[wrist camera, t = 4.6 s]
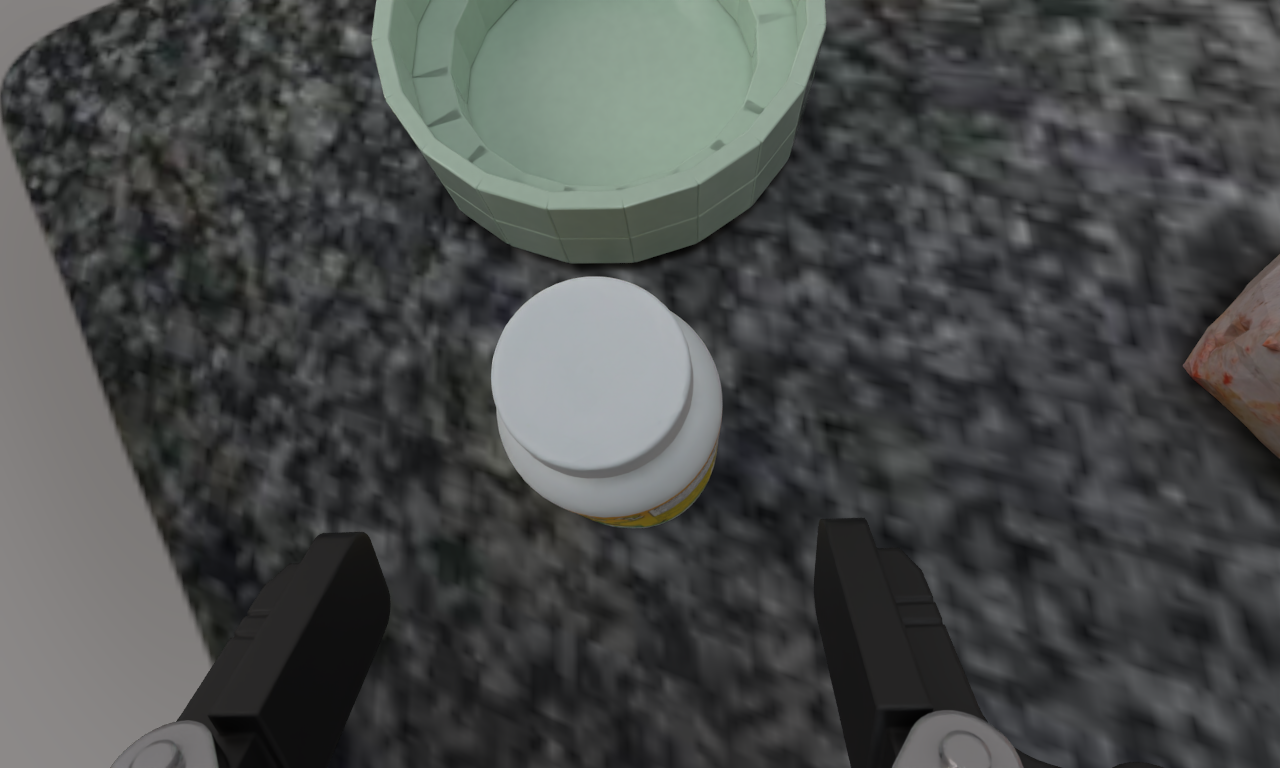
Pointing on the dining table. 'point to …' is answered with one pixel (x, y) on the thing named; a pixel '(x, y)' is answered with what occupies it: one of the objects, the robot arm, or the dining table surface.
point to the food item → (1246, 357)
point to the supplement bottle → (607, 402)
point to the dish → (600, 112)
